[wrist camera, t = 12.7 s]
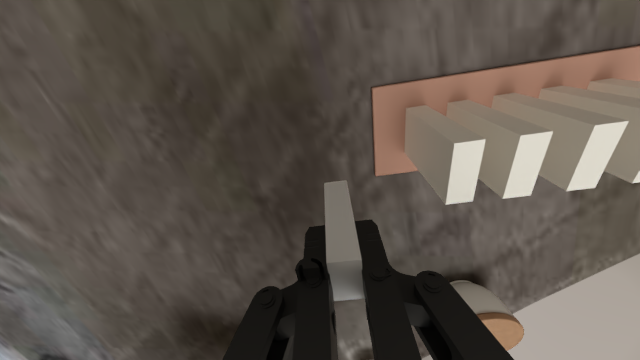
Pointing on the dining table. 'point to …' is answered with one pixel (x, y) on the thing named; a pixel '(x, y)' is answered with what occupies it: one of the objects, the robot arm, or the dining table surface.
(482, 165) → the domino
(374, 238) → the robot arm
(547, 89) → the domino
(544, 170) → the domino
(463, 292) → the lidded jar
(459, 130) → the domino
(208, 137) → the dining table surface
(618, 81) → the domino
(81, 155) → the dining table surface
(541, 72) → the strip
